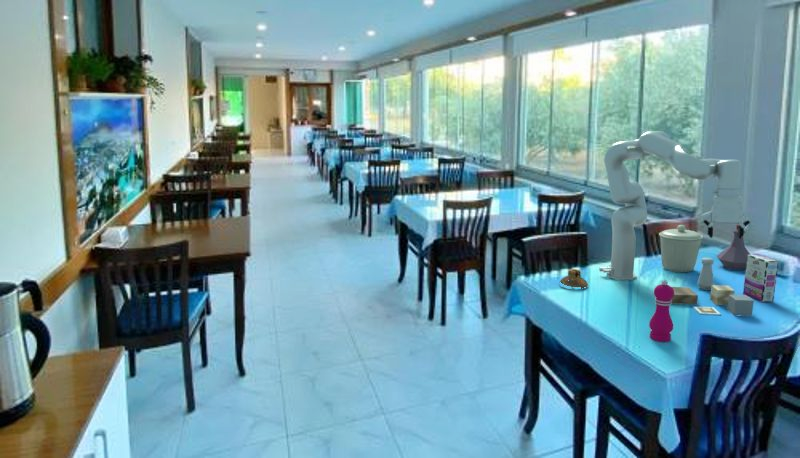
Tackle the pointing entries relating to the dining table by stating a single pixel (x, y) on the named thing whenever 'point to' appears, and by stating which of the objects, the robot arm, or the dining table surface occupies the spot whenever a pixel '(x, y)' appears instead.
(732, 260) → the flask
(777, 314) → the dining table surface
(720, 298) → the maple cube
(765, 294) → the candy bar box
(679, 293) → the walnut block
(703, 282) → the salt shaker
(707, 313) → the card
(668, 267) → the canister
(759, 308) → the dining table surface
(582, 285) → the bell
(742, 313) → the grey cube
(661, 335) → the pepper mill
